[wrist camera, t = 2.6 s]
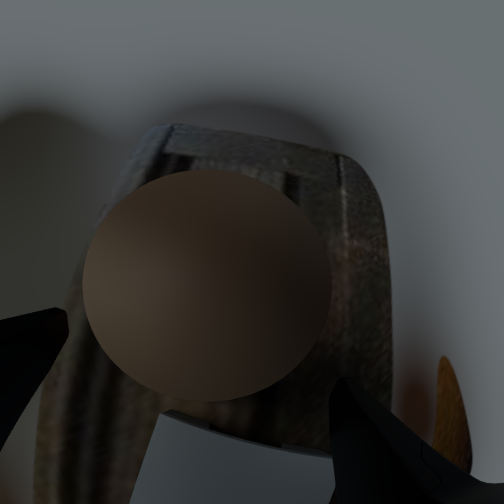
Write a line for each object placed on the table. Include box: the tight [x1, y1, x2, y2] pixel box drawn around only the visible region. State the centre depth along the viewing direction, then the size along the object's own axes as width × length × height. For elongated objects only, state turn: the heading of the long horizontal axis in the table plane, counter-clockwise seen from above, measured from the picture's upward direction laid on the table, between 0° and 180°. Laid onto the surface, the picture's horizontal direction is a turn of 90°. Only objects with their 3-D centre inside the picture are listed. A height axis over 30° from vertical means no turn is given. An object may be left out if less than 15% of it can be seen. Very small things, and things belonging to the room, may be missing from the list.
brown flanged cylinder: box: [83, 170, 332, 402], centre depth 12 cm, size 6×6×12 cm
